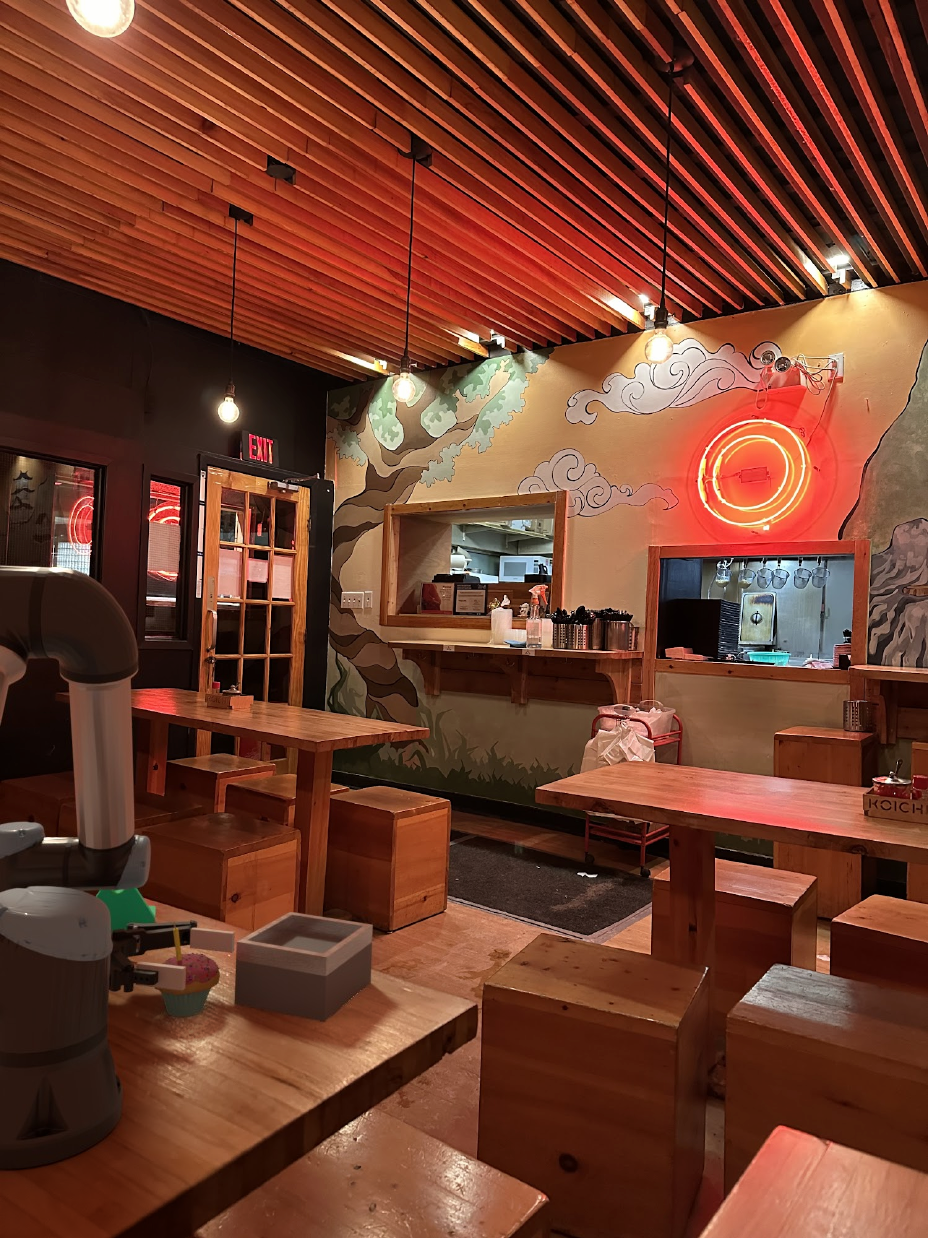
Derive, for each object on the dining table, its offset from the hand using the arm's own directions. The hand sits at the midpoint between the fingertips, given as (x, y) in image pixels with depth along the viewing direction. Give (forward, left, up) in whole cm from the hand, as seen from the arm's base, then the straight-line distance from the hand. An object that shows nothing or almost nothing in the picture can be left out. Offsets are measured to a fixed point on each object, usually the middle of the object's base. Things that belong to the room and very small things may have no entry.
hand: (210, 959), depth 115 cm
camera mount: (+20, +33, -7) cm, 40 cm away
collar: (+11, -9, -1) cm, 14 cm away
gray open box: (+11, -9, -7) cm, 15 cm away
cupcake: (0, +3, -7) cm, 8 cm away
